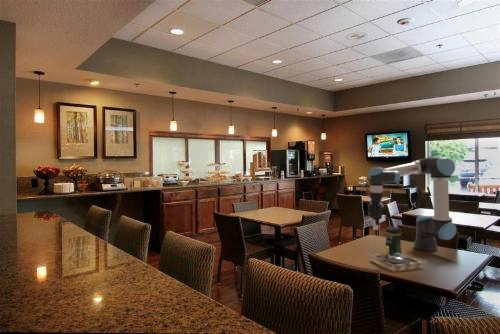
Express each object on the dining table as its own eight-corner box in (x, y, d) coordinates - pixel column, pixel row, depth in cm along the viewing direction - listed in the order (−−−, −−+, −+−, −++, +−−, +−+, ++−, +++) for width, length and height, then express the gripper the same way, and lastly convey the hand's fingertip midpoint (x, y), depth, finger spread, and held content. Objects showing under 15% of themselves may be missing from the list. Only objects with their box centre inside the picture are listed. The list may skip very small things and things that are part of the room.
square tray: (398, 258, 207) (398, 252, 207) (422, 268, 188) (422, 261, 188) (371, 260, 202) (371, 254, 202) (393, 271, 183) (393, 264, 183)
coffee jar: (403, 256, 212) (403, 228, 211) (394, 257, 209) (394, 229, 208) (392, 252, 221) (392, 225, 220) (383, 253, 218) (383, 226, 217)
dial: (397, 255, 205) (397, 241, 205) (416, 263, 189) (416, 248, 189) (376, 257, 201) (376, 243, 200) (393, 265, 185) (393, 250, 185)
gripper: (364, 191, 207) (364, 227, 208) (377, 193, 195) (377, 232, 195) (374, 191, 209) (374, 227, 210) (388, 193, 197) (387, 231, 197)
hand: (375, 229), depth 203 cm, fingers closed
